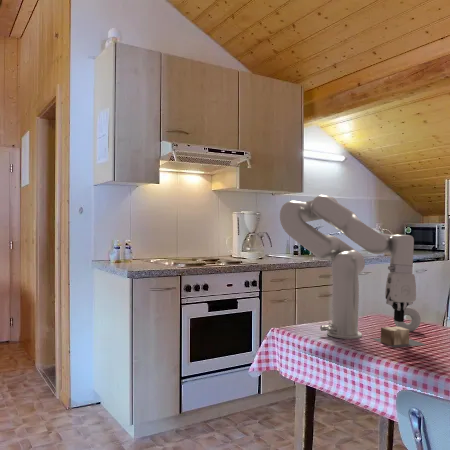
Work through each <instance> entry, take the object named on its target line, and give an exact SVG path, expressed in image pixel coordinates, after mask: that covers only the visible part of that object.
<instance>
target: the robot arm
mask: <svg viewBox="0 0 450 450" xmlns="http://www.w3.org/2000/svg"><path fill="white" fill-rule="evenodd" d="M317 220H318V221H319V220H323V221H324V222H326V223H328V224H329V225H331V227H334V229H336V230H338V231H340V232H341V233H342V234H343V235H344V236H346V237H347V238H348V239H350V240H351V241H352V242H353V243H354V244H356V245H358V246H359V247H361V248H362V249H364V250H366V251H367V252H369V253H370V254H373V255H380V254H381V255H384V254H390V260H389V261H390V262H389V265H388V266H387V270H389V272H388V273H387V276H386V283H385V292H384V294H385V295H384V296H385V300H386V301H385V304H386V305H389V306H391V307H392V309H393V310H394V311H393V321H394V320H395V321H398V322H405V316H404V311H405V310H406V307H409V306H410V305H411V306H412V305H413V304H414V302H415V301H416V299H417V283H416V277H415V273H413V270H414V268H413V267H414V266H413V265H414V248H415V246H414V244H415V239H414V237H413V235H410V234H389V233H383V232H378V231H376V230H375V229H373V228H371V227H370V226H369V225H367V224H366V223H364V222H363V221H361V220H360V219H359V217H358V216H357V214H356V213H355V212H353V211H352V210H350V209H349V208H347V207H345V206H344V205H342V204H341V203H339V202H338V200H337V199H336V198H334V197H332V196H330V195H325V194H320V195H317V196H316V197H314V198H313V199H312V200H308V201H298V200H289V201H286V202H285V203H283V205H282V206H281V208H280V212H279V221H280V224H281V227H282V229H283V230H284V232H285V233H286V234H287V235H288V236H289V237H290V238H291V239H293V240H294V241H296V242H297V243H298V244H300V245H301V246H302V247H303V248H304V249H306V250H308V251H309V252H310V253H311V254H313V255H314V256H315V257H316V258H317V259H320V260H328V261H330V262H331V276H332V277H331V278H332V303H331V304H332V305H331V308H332V309H331V310H332V311H331V322H330V321H329V322H328V323H329V324H327V325H320V327H319V328H320V329H319V330H320V331H321V332H325V331H327V332H326V334H327V335H328V336H329V337H332V338H336V339H342V340H343V339H344V340H353V339H354V340H357V339H360V338H362V337H363V334H362V332H360V331H359V300H360V299H359V296H360V295H359V293H360V292H359V291H360V288H359V286H360V283H359V282H360V281H359V274H360V273H362V272H363V270H364V269H365V265H366V261H365V258H364V256H363V255H362V254H361V253H360V252H359V251H358V250H357V249H355V248H353V247H352V246H350V245H349V244H348V243H346V242H345V241H343V240H342V239H340V238H338V237H337V236H334V235H329V234H328V235H327V234H324V233H322V232H321V231H319V230H318V229H317V228H315V226H312V225H311V224H309V223H308V222H314V221H317Z"/></svg>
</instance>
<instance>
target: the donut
mask: <svg viewBox="0 0 450 450" xmlns="http://www.w3.org/2000/svg"><path fill="white" fill-rule="evenodd" d="M405 316H409V317H410V319H411V321H410V322H405V321H404V322H398V321H395V320H394V319H393V323H394V325H395V327H402V328H405V329H409V333H410V332H414V331H416V330H417V329H418V328H419V326H420V325H421V321H422V320H421V315H420V314H419V312H418V311H417V310H416V309H415V308H413V307H411V306H407V307H406V310H405V311H404V317H405Z"/></svg>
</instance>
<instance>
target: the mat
mask: <svg viewBox="0 0 450 450" xmlns="http://www.w3.org/2000/svg"><path fill="white" fill-rule="evenodd" d="M372 340H373V341H376V342H379V343H380V344H381V343H382V344H384V345H387V346H389V347H391V348H406V347H418V346H419V347H420V346H427V344H425V343H423V342H420V341H417V340H413V339H410V338H409V344H402V345H388V344H385V343H383V342H381V337H378V338H377V337H376V338H372Z"/></svg>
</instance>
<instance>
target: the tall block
mask: <svg viewBox="0 0 450 450" xmlns="http://www.w3.org/2000/svg"><path fill="white" fill-rule="evenodd" d="M380 338H381V342H383V343H385V344H384V345H386V344H388V345H387V346H389V345H402V344H409V339H410V332H409V329H405V328H402V327H397V326H387V327H381V328H380ZM381 342H380V343H381ZM383 343H382V344H383Z"/></svg>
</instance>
